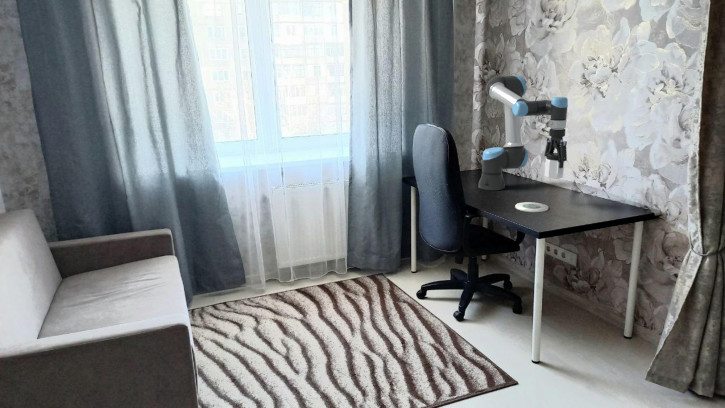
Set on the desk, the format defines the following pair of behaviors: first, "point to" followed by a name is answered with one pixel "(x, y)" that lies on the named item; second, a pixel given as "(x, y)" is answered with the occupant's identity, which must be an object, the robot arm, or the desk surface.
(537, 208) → the plate
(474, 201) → the desk surface
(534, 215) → the desk surface
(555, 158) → the jar
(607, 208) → the desk surface
